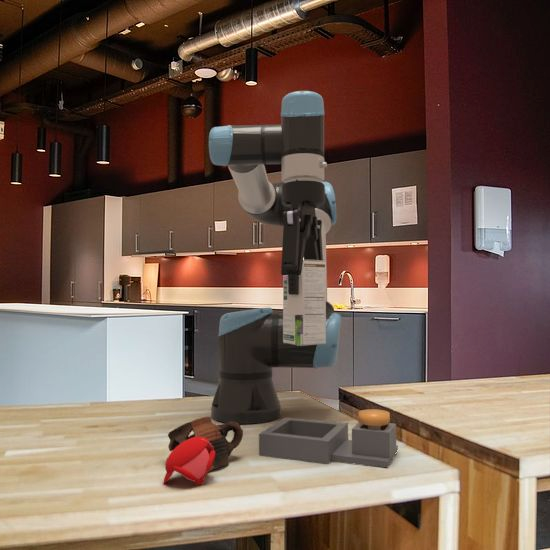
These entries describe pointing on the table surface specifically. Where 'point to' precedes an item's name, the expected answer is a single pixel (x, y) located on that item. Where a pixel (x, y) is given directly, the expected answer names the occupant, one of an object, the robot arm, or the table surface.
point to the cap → (191, 459)
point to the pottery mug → (209, 437)
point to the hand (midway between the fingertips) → (304, 313)
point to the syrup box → (308, 307)
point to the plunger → (374, 418)
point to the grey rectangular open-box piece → (329, 442)
